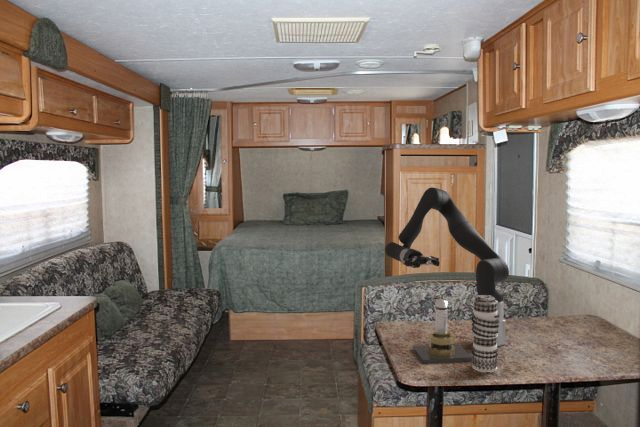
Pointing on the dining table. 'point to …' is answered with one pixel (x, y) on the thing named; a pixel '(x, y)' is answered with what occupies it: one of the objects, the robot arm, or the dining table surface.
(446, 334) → the metal thermos flask
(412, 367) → the dining table surface
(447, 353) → the collar stand
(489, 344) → the decorative candle
